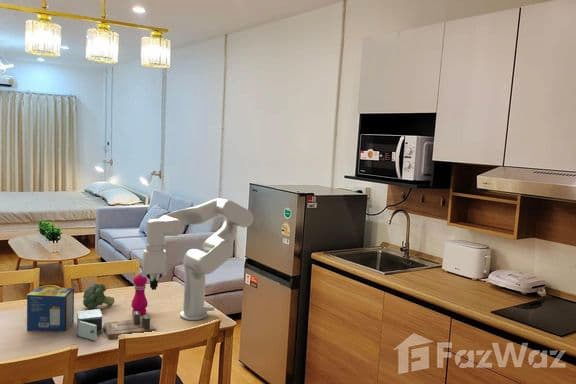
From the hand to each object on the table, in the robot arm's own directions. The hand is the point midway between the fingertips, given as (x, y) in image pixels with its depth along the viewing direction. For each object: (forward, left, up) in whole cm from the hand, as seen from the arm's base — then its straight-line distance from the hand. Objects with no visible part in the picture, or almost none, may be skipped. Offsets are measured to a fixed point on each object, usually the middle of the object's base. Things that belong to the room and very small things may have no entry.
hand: (153, 288), depth 206 cm
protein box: (+40, -12, -17) cm, 45 cm away
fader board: (+10, +2, -17) cm, 19 cm away
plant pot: (+41, -34, -17) cm, 56 cm away
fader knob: (+7, 0, -15) cm, 16 cm away
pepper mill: (+3, -16, -17) cm, 23 cm away
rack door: (+27, +5, -16) cm, 32 cm away
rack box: (+25, -4, -17) cm, 30 cm away
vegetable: (+19, -30, -17) cm, 40 cm away
